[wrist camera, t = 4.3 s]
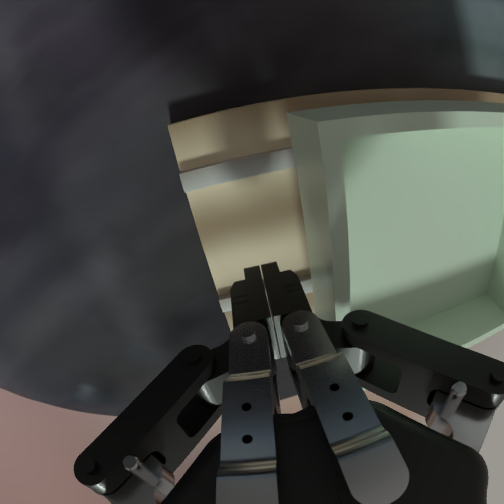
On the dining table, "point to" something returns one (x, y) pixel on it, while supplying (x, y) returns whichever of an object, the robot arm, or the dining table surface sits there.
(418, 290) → the mint green tray
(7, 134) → the dining table surface
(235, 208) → the track
